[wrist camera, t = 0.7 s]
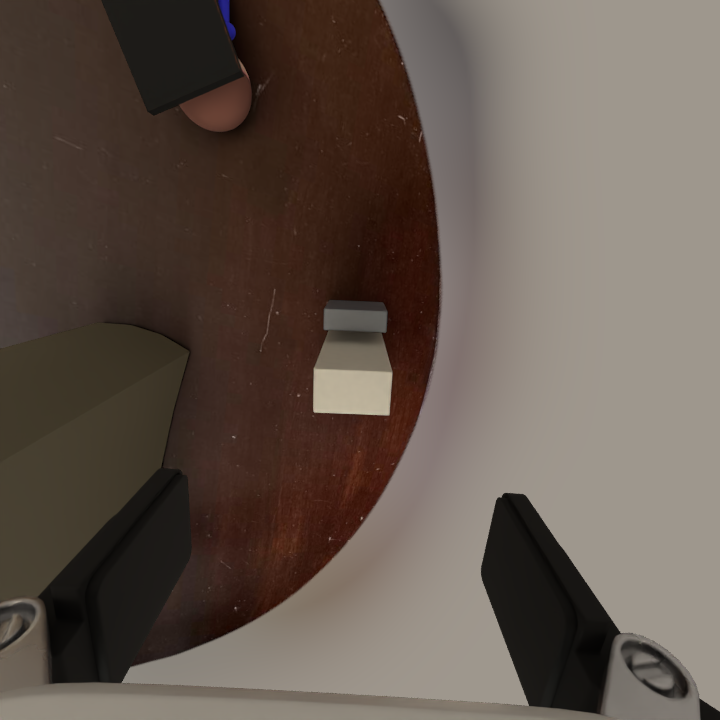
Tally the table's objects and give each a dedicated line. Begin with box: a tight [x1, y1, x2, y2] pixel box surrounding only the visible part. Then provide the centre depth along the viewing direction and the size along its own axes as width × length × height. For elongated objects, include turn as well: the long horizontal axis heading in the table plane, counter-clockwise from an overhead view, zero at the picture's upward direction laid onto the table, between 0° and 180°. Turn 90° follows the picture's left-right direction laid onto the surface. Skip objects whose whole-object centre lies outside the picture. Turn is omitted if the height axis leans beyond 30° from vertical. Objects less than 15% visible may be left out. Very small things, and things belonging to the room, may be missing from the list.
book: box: [0, 322, 190, 601], centre depth 23 cm, size 18×8×24 cm, turn 161°
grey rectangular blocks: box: [324, 300, 388, 333], centre depth 30 cm, size 8×5×5 cm, turn 177°
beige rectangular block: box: [313, 330, 392, 415], centre depth 27 cm, size 3×5×11 cm, turn 87°
